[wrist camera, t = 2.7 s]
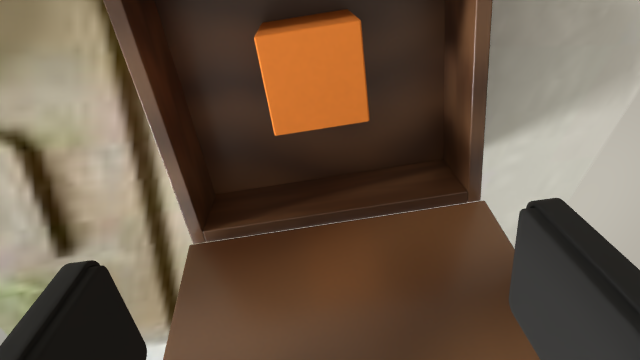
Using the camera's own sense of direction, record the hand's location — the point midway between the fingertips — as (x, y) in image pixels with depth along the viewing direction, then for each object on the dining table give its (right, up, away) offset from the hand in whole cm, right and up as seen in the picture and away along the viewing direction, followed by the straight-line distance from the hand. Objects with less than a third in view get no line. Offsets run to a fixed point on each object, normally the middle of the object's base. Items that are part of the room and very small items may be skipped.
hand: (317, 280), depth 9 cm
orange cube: (0, +9, +15) cm, 18 cm away
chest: (0, +9, +16) cm, 18 cm away
